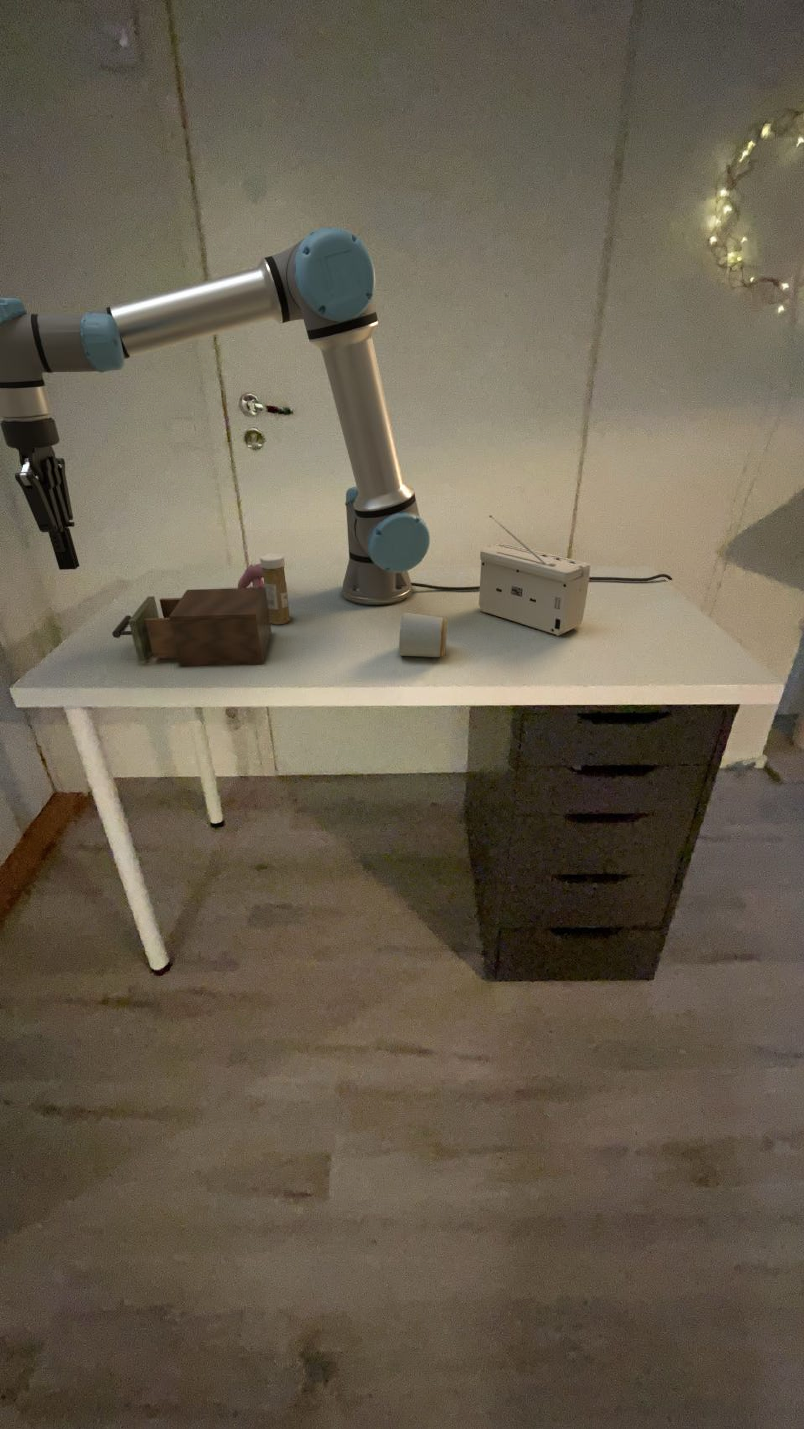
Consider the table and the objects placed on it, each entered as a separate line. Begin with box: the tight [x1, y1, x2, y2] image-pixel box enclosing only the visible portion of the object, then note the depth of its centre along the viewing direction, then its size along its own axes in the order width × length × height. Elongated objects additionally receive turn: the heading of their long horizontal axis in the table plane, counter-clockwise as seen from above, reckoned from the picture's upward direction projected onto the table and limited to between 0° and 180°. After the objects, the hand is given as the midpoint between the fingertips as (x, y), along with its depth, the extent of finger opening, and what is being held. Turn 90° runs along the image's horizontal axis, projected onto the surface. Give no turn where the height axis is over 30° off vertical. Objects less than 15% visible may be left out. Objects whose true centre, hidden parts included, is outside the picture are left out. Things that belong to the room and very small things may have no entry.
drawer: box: [111, 595, 182, 662], centre depth 118 cm, size 18×11×8 cm, turn 92°
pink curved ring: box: [237, 563, 264, 588], centre depth 146 cm, size 10×5×7 cm, turn 58°
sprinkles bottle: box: [259, 552, 291, 625], centre depth 129 cm, size 5×5×14 cm
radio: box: [478, 514, 591, 637], centre depth 126 cm, size 21×8×20 cm, turn 47°
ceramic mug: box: [398, 612, 448, 658], centre depth 118 cm, size 11×8×8 cm
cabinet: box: [169, 587, 272, 667], centre depth 119 cm, size 15×13×10 cm
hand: (69, 567), depth 112 cm, fingers closed
